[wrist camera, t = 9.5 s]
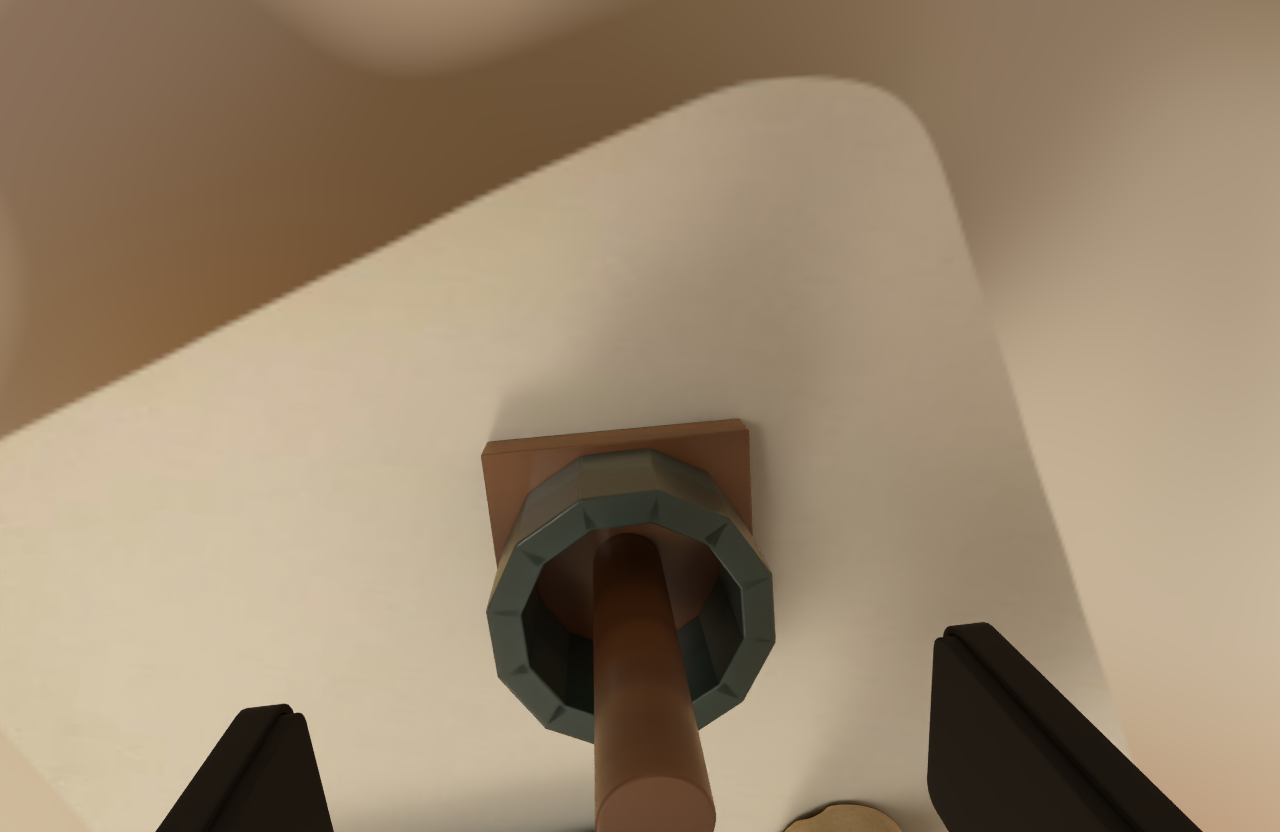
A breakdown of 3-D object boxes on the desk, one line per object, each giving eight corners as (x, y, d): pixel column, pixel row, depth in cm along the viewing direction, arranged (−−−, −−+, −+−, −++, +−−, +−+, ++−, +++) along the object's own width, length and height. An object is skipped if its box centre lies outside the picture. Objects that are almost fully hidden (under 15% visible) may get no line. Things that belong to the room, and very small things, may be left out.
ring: (488, 465, 23) (467, 513, 19) (737, 436, 23) (767, 477, 19) (525, 682, 25) (512, 764, 21) (752, 652, 25) (781, 727, 22)
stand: (486, 441, 24) (384, 650, 12) (739, 418, 25) (884, 597, 13) (518, 663, 27) (458, 1022, 14) (748, 638, 27) (876, 966, 15)
